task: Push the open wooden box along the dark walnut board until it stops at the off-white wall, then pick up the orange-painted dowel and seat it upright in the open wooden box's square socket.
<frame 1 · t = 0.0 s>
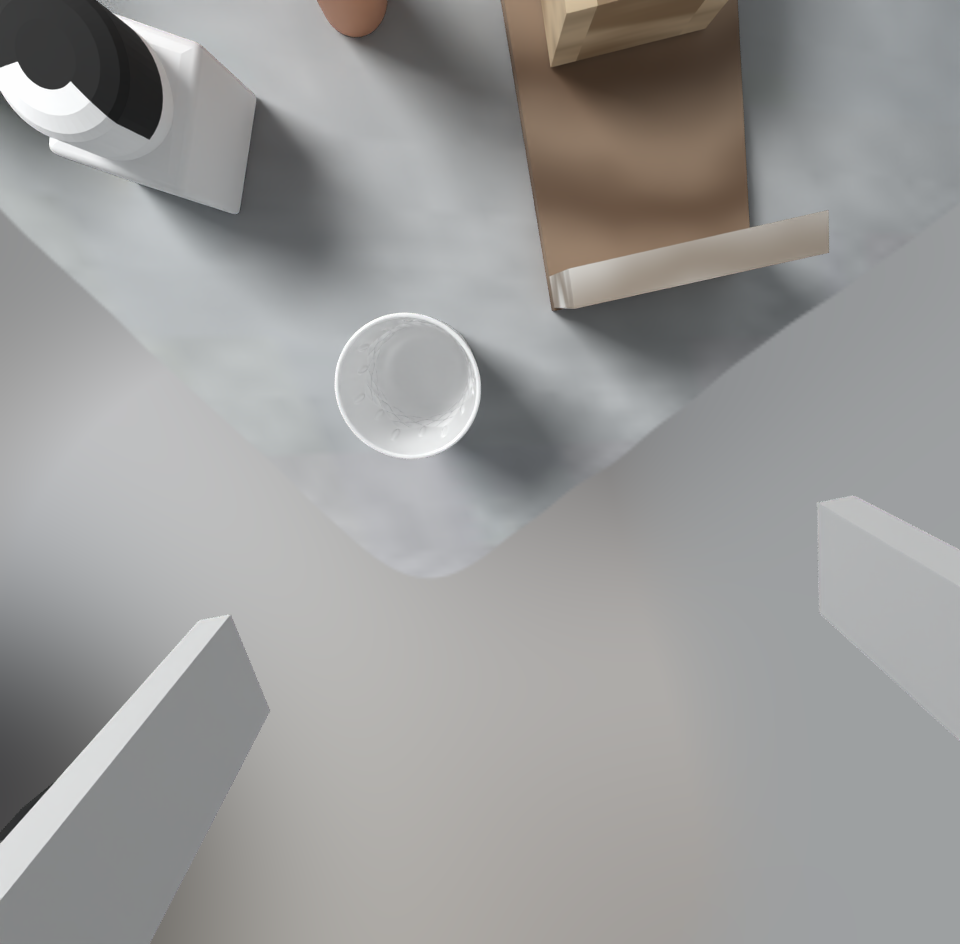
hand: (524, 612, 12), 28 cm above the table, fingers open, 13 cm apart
board: (620, 70, 32), on the table
medicine bottle: (195, 140, 34), on the table
white cup: (426, 367, 38), on the table
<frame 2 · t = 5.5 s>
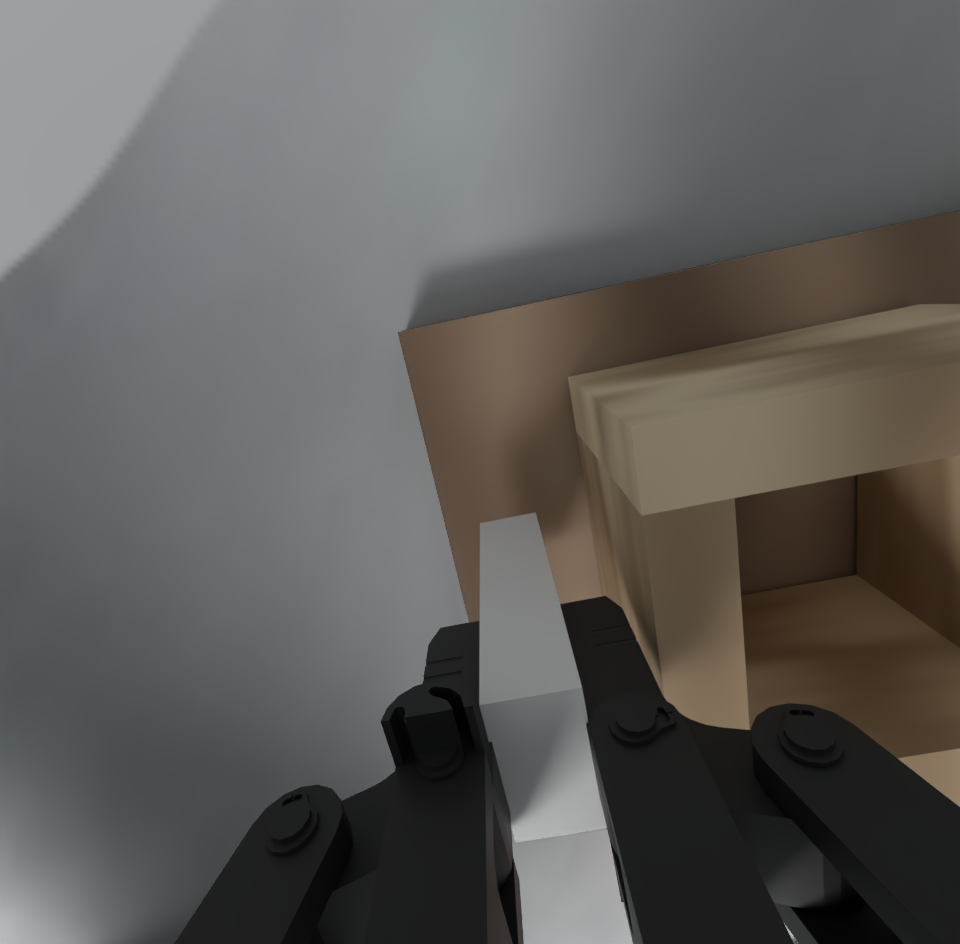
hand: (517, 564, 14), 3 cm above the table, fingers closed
board: (865, 454, 16), on the table
open wooden box: (813, 547, 12), point 5 cm above the table, slide at 0.6 cm, touching gripper
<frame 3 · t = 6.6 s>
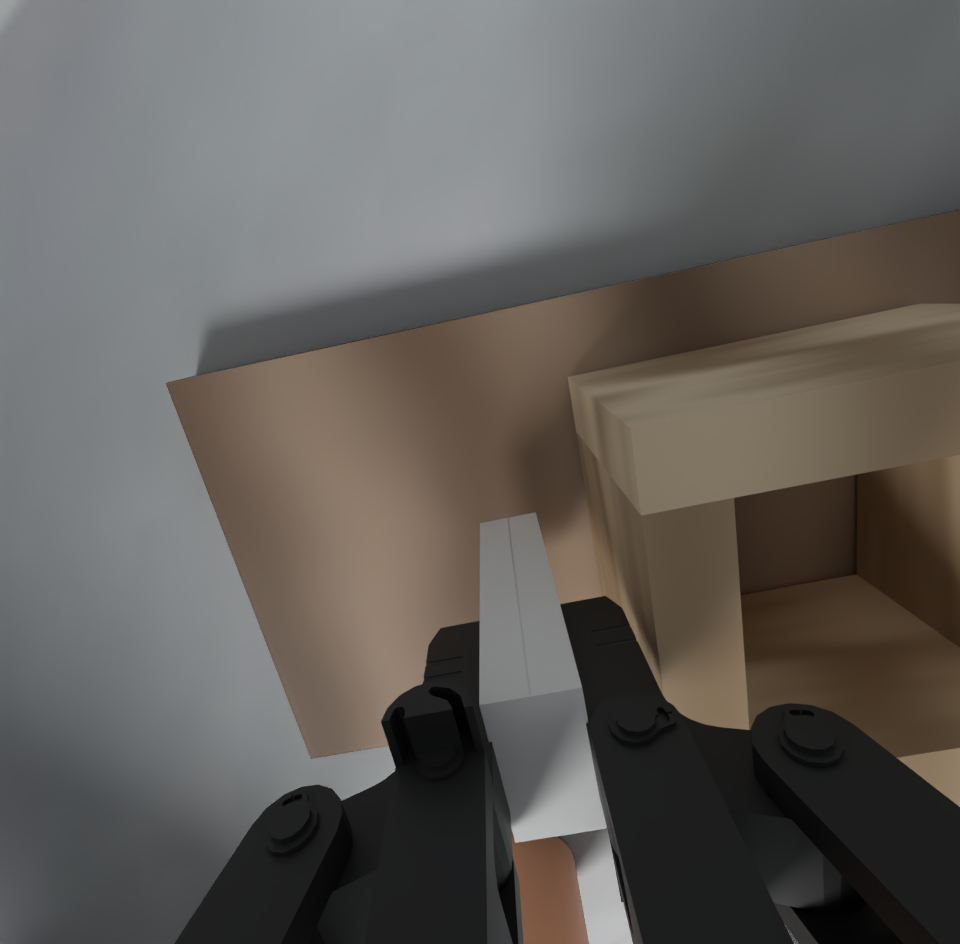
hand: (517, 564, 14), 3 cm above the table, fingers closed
board: (658, 494, 17), on the table
open wooden box: (813, 547, 12), point 5 cm above the table, slide at 7.0 cm, touching gripper
dowel: (525, 865, 22), on the table
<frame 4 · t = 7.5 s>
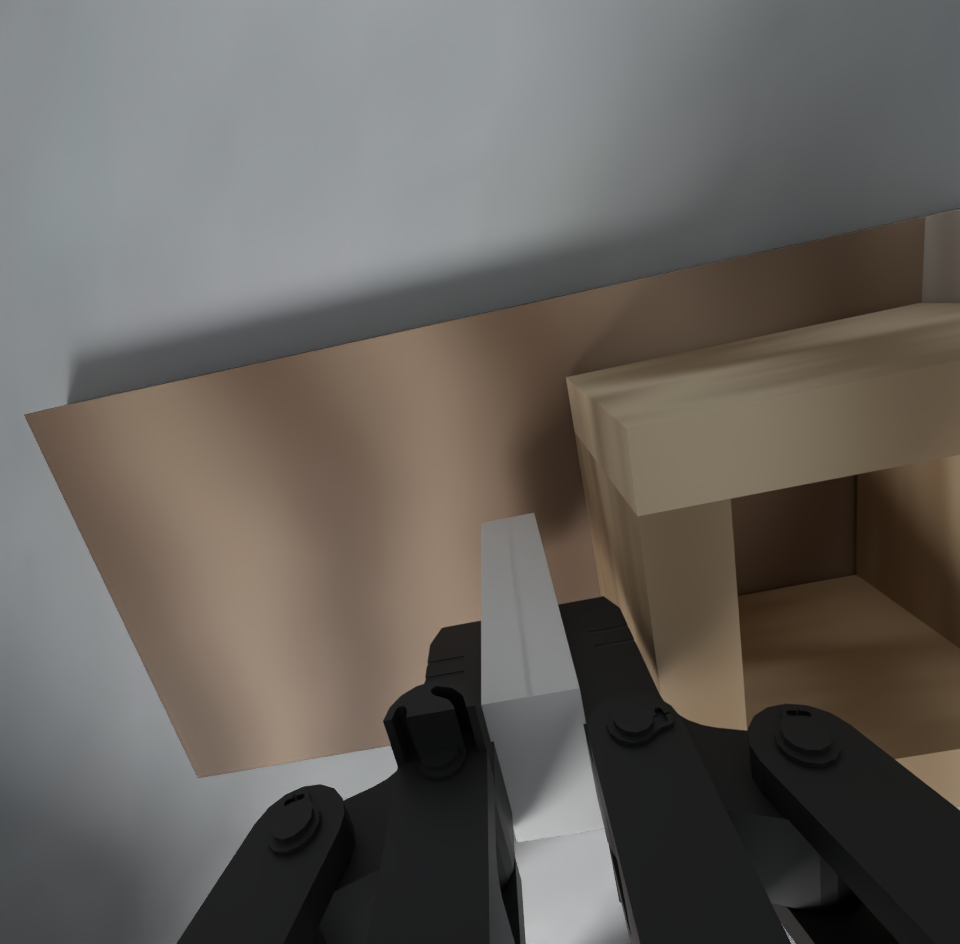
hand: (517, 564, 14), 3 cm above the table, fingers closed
board: (531, 518, 17), on the table
open wooden box: (812, 547, 12), point 5 cm above the table, slide at 11.1 cm, touching gripper
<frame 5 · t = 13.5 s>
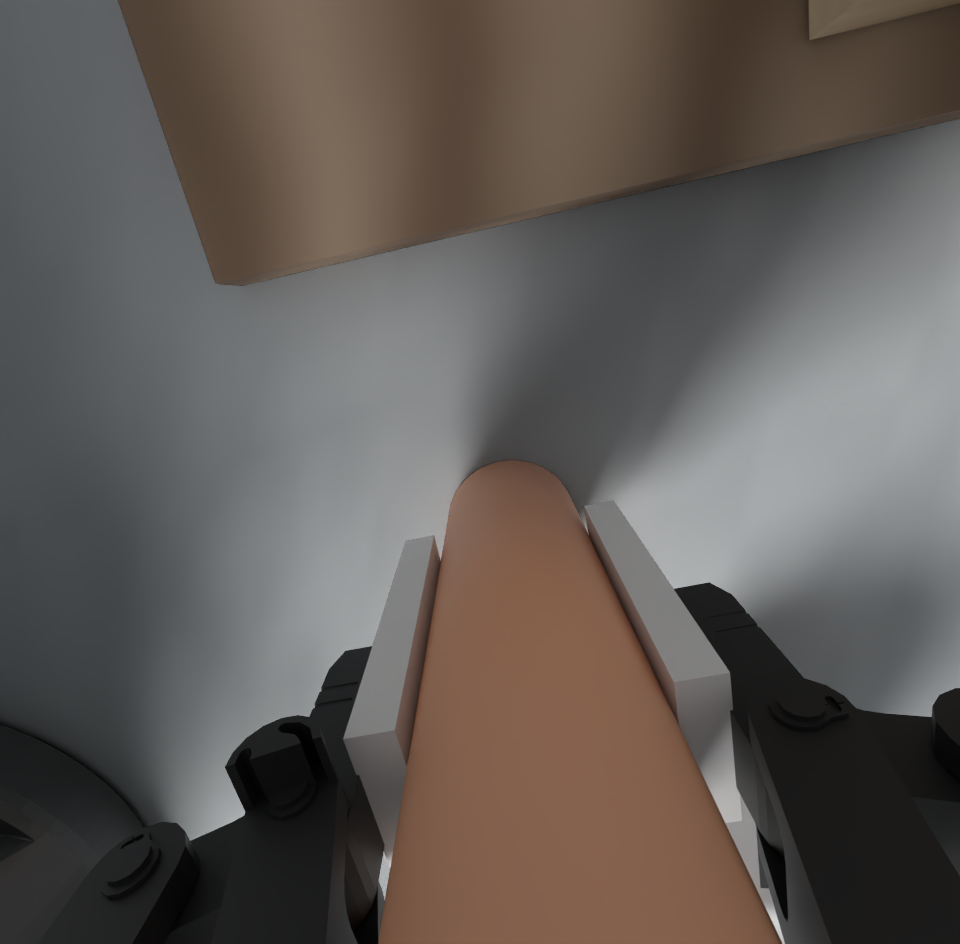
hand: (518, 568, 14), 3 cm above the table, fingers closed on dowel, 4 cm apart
medicine bottle: (699, 776, 20), on the table
dowel: (511, 520, 17), on the table, touching gripper
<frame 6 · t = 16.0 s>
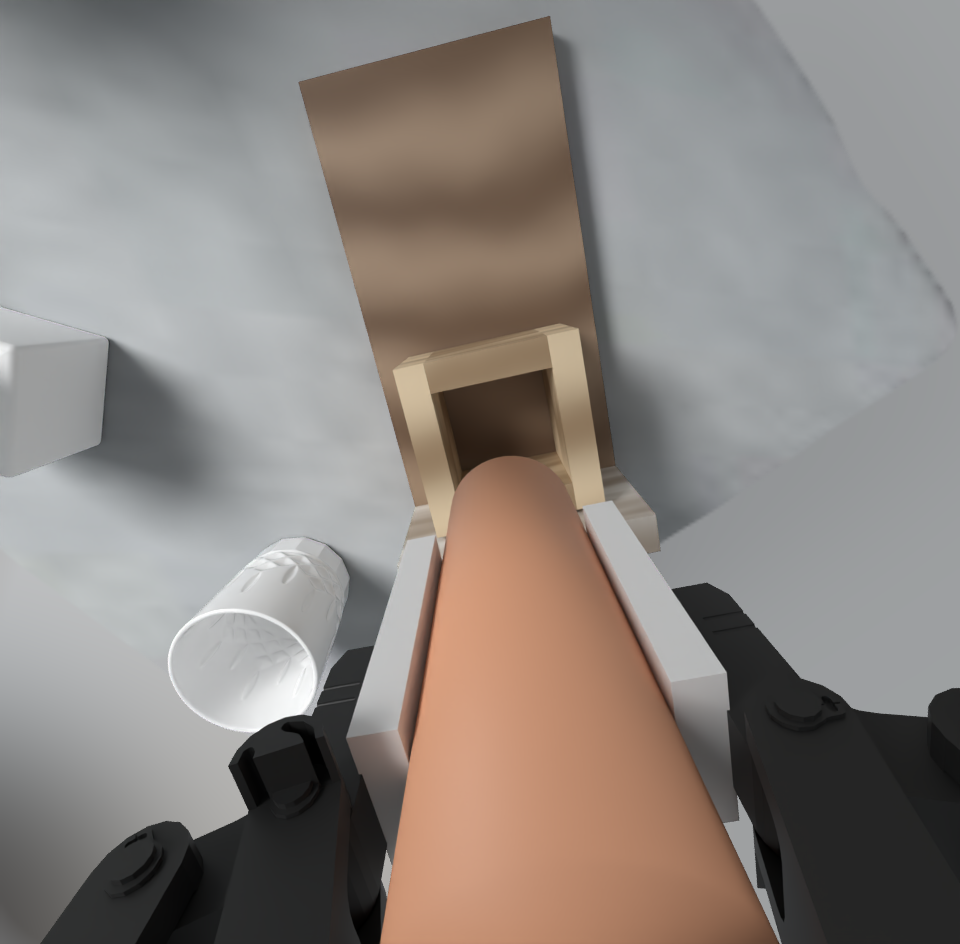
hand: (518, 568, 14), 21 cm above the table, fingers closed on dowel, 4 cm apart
board: (477, 313, 32), on the table
medicine bottle: (51, 376, 33), on the table
white cup: (303, 577, 38), on the table
open wooden box: (501, 426, 29), point 5 cm above the table, slide at 11.0 cm
dowel: (510, 513, 17), point 17 cm above the table, touching gripper
when the fingers open (8 cm above the table, at t = 18.6 s): dowel drops 2 cm, resting on board.
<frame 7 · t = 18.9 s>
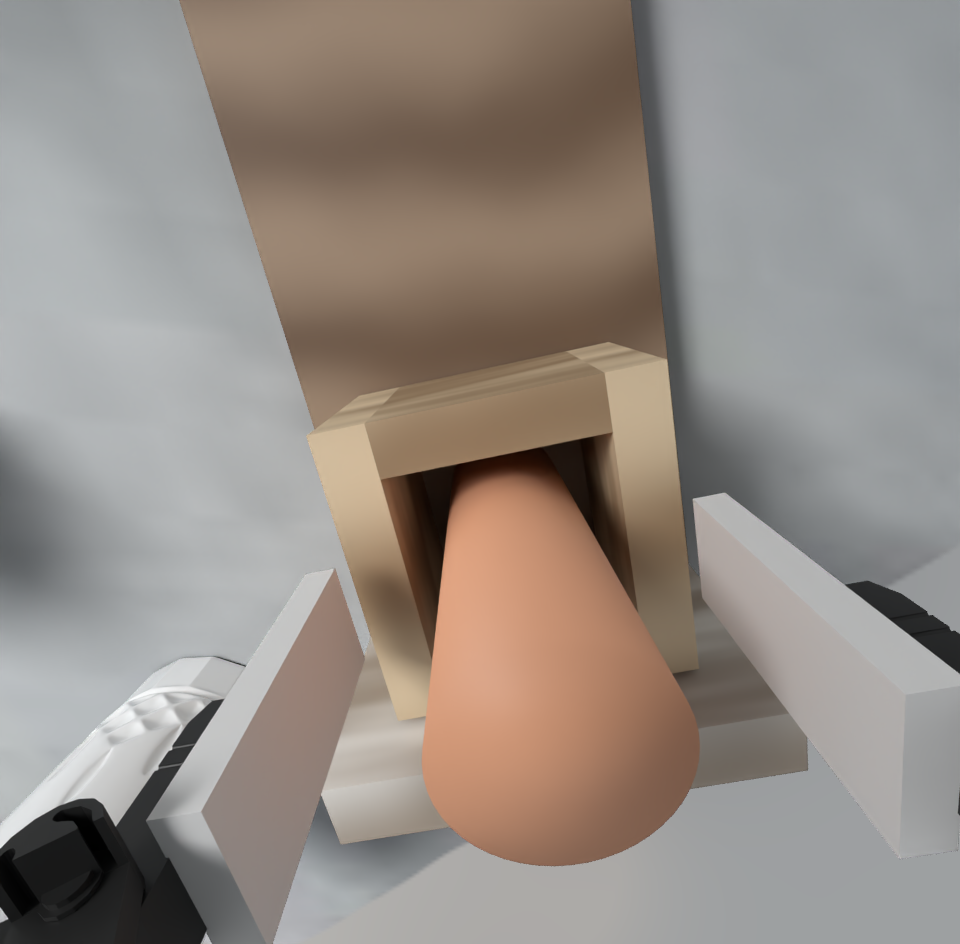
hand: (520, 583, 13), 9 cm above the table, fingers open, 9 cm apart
board: (473, 323, 20), on the table
white cup: (216, 710, 25), on the table
open wooden box: (511, 517, 17), point 5 cm above the table, slide at 11.0 cm
dowel: (504, 485, 20), point 2 cm above the table, touching board
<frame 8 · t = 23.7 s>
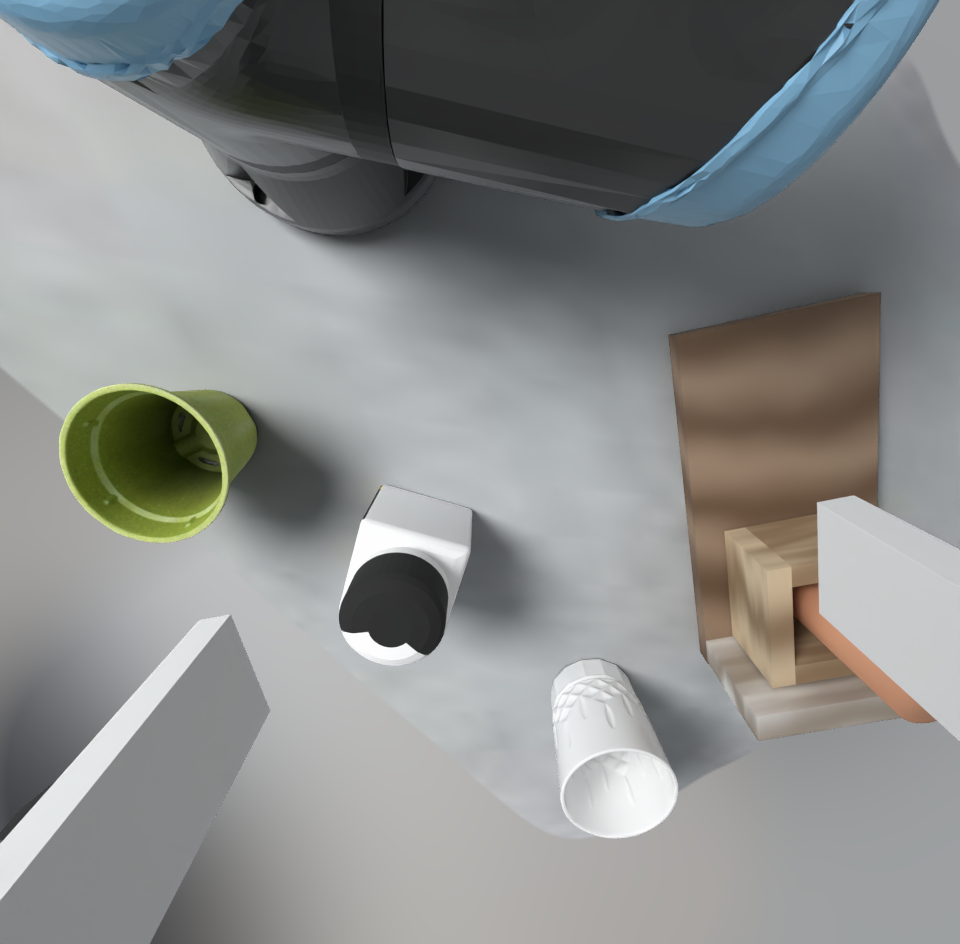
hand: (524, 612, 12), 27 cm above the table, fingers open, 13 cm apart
board: (773, 492, 39), on the table
medicine bottle: (416, 535, 41), on the table
white cup: (589, 689, 45), on the table
open wooden box: (813, 594, 37), point 5 cm above the table, slide at 11.0 cm
plant pot: (218, 431, 38), on the table
dowel: (787, 572, 40), point 2 cm above the table, touching board
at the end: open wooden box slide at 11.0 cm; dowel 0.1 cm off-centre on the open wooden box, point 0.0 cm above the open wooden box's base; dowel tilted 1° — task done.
